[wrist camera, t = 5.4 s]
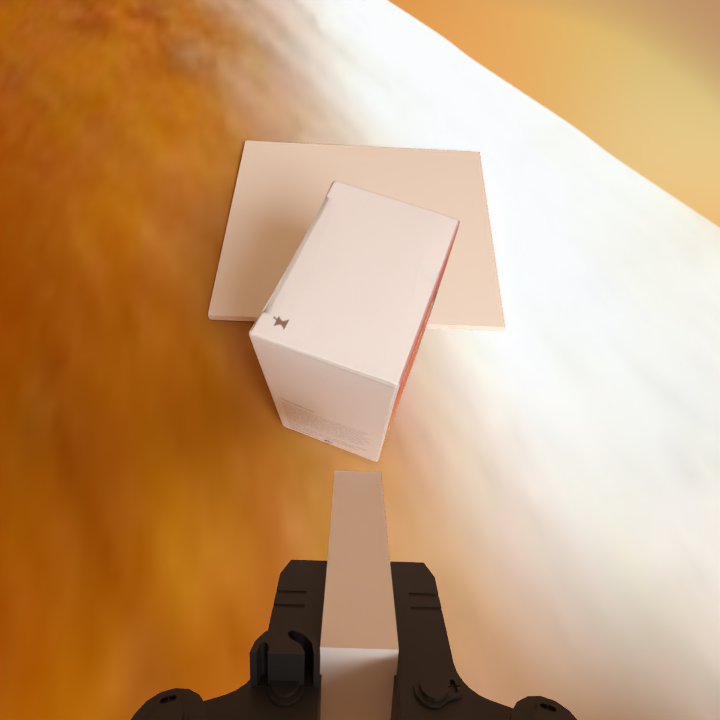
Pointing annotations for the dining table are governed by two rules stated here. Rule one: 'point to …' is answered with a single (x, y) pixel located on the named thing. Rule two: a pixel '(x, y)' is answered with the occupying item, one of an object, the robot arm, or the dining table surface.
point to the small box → (352, 316)
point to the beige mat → (370, 172)
